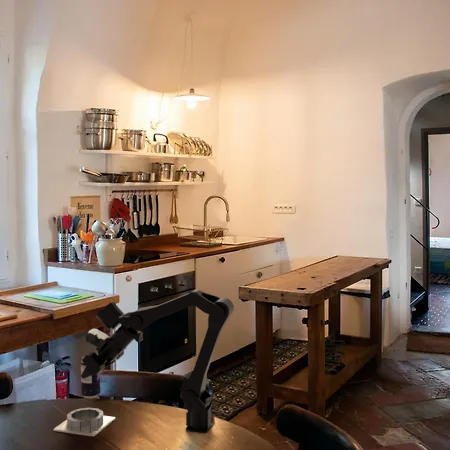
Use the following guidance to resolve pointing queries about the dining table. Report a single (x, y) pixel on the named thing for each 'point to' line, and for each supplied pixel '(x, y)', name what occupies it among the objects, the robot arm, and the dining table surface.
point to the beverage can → (90, 384)
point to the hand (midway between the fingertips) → (86, 374)
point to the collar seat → (85, 422)
